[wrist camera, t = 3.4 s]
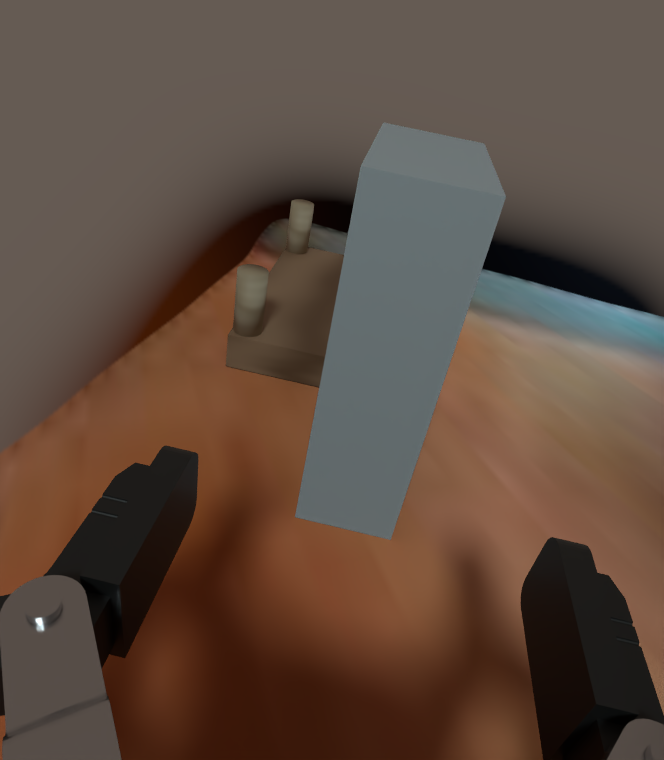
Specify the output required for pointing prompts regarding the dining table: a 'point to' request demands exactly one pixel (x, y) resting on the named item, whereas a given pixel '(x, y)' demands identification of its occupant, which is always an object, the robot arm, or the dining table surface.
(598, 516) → the dining table surface
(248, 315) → the peg stand
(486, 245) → the rectangular block
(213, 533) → the dining table surface
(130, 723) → the dining table surface
